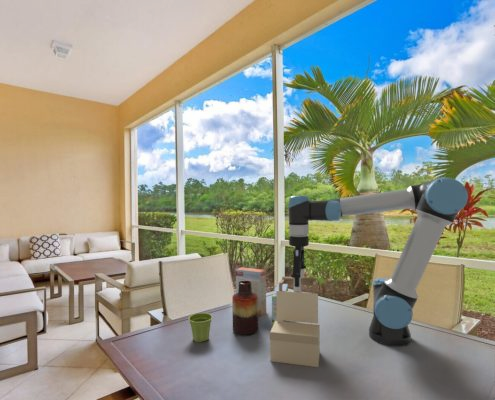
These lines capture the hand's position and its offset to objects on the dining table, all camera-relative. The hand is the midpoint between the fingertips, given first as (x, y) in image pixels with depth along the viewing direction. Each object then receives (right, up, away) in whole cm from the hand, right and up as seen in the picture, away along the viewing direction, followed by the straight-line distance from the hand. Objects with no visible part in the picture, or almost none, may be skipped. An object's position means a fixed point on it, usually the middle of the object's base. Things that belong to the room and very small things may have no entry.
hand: (299, 289), depth 124 cm
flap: (-2, -2, -8) cm, 9 cm away
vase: (-21, -20, +10) cm, 31 cm away
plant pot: (-39, -20, +2) cm, 44 cm away
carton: (-3, -20, -13) cm, 24 cm away
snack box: (-6, -20, +17) cm, 27 cm away
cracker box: (-18, -20, +31) cm, 41 cm away
